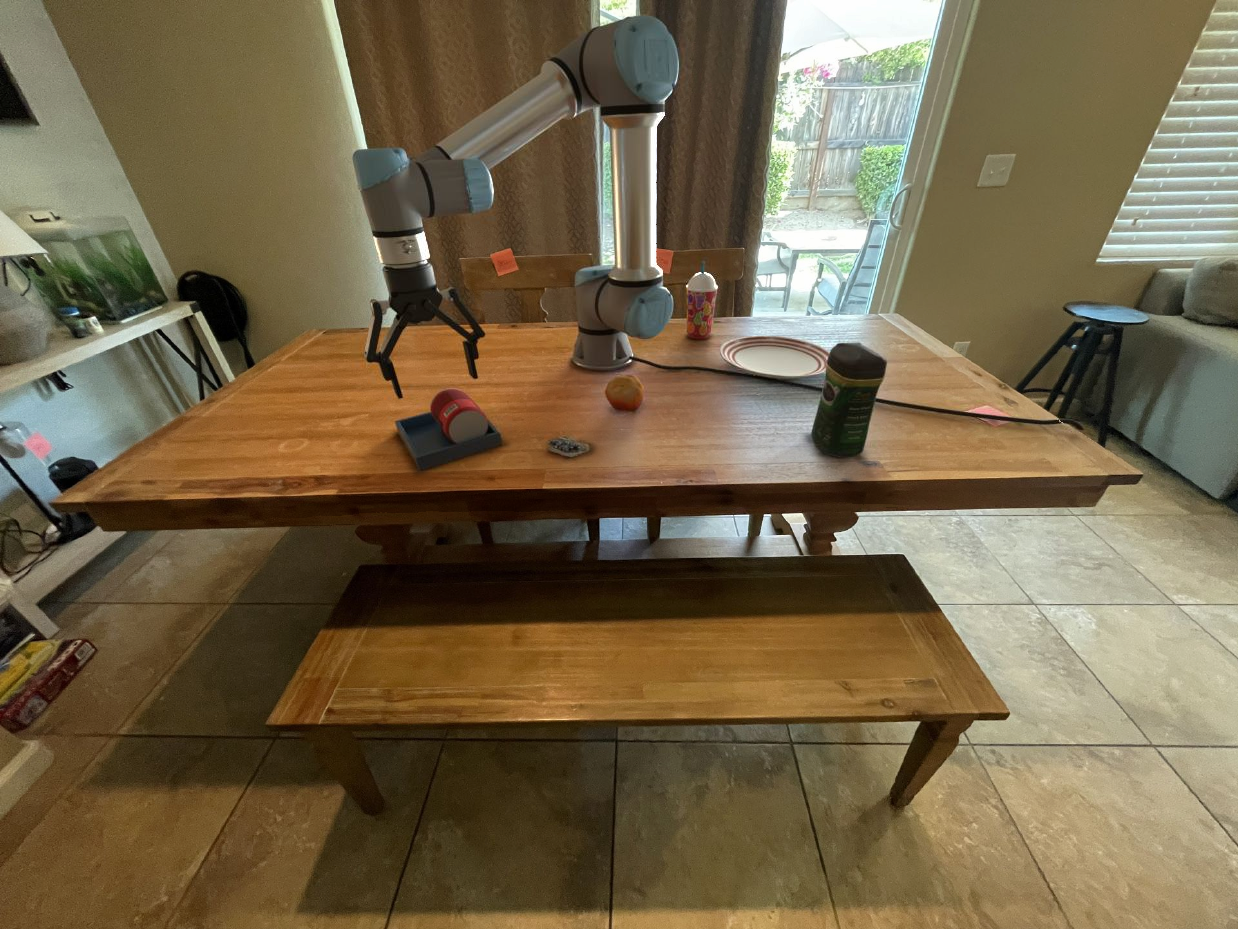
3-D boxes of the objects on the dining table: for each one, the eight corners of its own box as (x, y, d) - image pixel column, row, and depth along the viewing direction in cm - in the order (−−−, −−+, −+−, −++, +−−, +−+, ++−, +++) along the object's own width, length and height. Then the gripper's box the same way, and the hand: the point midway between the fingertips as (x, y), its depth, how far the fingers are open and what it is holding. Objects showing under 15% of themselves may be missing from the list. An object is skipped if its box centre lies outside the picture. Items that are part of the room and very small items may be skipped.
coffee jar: (869, 458, 88) (899, 357, 78) (826, 461, 88) (850, 360, 78) (844, 431, 96) (868, 336, 86) (804, 433, 96) (823, 339, 86)
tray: (502, 445, 95) (500, 432, 93) (419, 470, 88) (415, 458, 87) (473, 412, 106) (470, 400, 105) (398, 433, 100) (394, 421, 98)
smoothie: (712, 331, 146) (718, 258, 135) (714, 341, 139) (720, 265, 128) (683, 331, 147) (687, 258, 136) (684, 340, 140) (687, 265, 129)
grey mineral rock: (551, 438, 96) (550, 429, 95) (592, 439, 96) (592, 431, 95) (543, 457, 91) (542, 448, 90) (587, 458, 90) (586, 449, 89)
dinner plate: (790, 340, 138) (792, 328, 137) (859, 377, 117) (862, 364, 115) (699, 354, 131) (700, 341, 130) (755, 396, 110) (757, 382, 108)
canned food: (490, 406, 92) (470, 386, 100) (446, 410, 88) (428, 389, 96) (489, 443, 96) (470, 421, 103) (447, 449, 91) (430, 425, 99)
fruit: (651, 392, 109) (645, 370, 102) (642, 423, 106) (636, 402, 99) (616, 387, 112) (608, 365, 104) (606, 418, 108) (598, 397, 101)
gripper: (322, 280, 71) (369, 412, 83) (489, 255, 82) (509, 375, 94) (316, 271, 77) (361, 396, 88) (474, 248, 88) (494, 363, 99)
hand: (437, 386), depth 91 cm, fingers open, 13 cm apart
